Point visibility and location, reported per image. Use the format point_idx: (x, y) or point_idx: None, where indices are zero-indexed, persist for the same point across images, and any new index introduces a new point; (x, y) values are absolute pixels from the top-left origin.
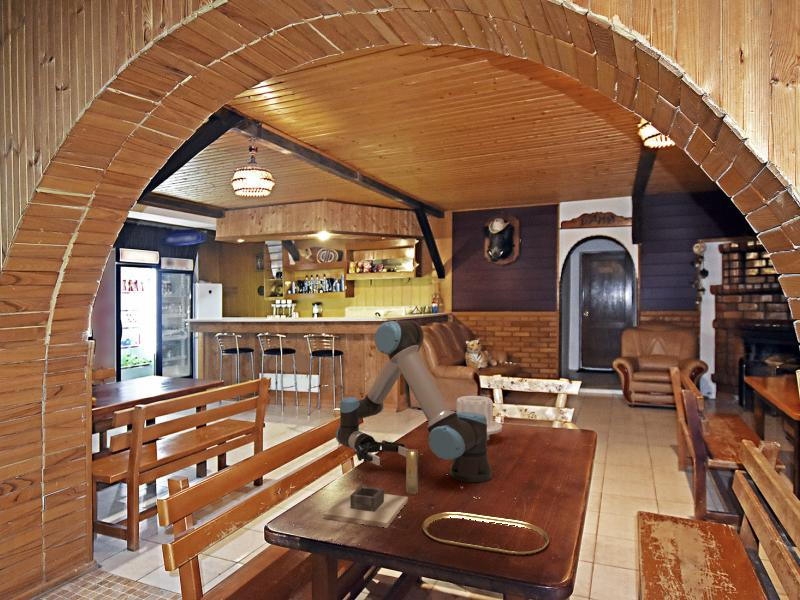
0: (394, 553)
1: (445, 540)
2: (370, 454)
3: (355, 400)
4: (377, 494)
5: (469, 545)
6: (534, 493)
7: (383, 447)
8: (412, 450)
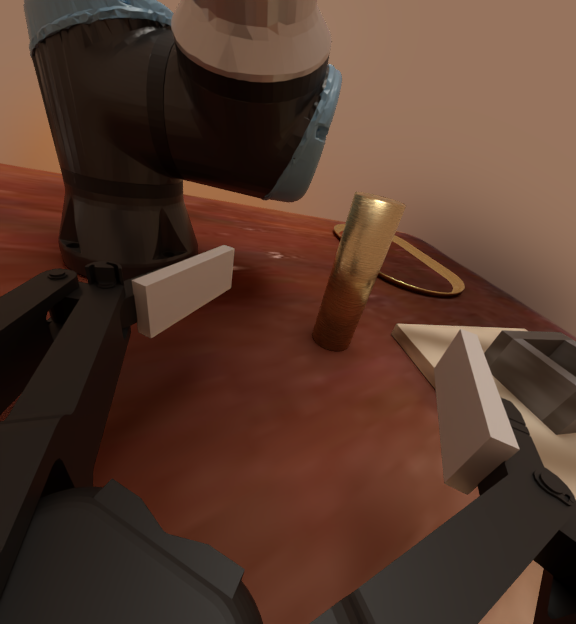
0: (537, 313)
1: (453, 273)
2: (501, 404)
3: None
4: (542, 334)
5: (432, 260)
6: (218, 216)
7: (80, 445)
8: (373, 197)
